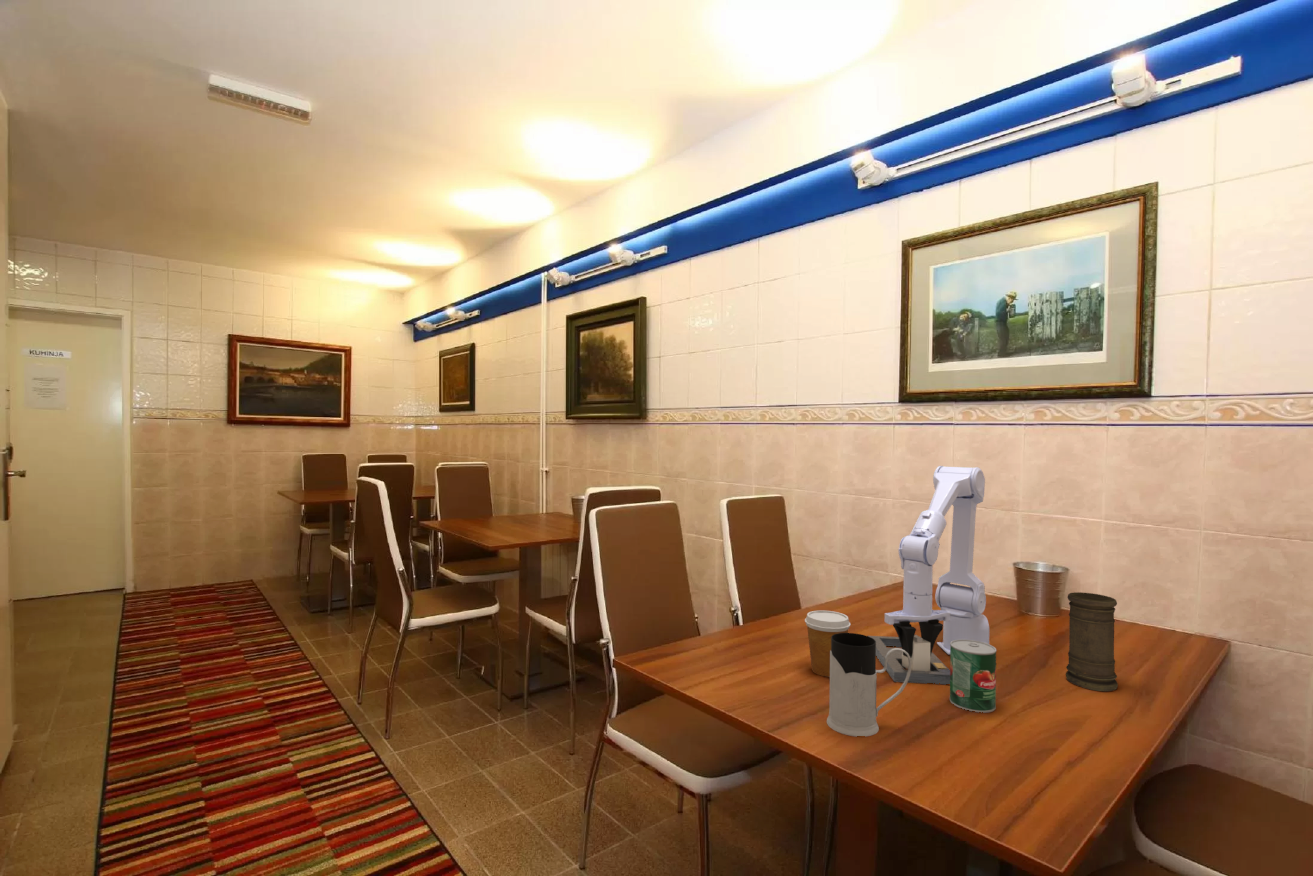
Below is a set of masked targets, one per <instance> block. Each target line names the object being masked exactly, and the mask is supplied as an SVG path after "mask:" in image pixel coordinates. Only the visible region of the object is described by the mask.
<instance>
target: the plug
mask: <svg viewBox="0 0 1313 876" xmlns="http://www.w3.org/2000/svg"><path fill="white" fill-rule="evenodd" d="M902 666H904V667H906V668H905V669H906V670H908V666H909V661H908V657H906V656H904V655H903V652H902ZM911 670H912V671H930V642H928V641H926V640H924V639H922V638H921V636H919V635H917V634H915V635H914V639H913V653H912V658H911Z"/></svg>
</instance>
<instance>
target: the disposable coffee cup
mask: <svg viewBox="0 0 1313 876" xmlns="http://www.w3.org/2000/svg"><path fill="white" fill-rule="evenodd" d="M804 622H805V625H806V627H807V636H808V637H807V638H808V645H809V655H810V664H811V672H813V673H814V674H815V675H818V676H820V677H821V676H822V677H828V678H830V651H831V637H832V635H834V634H838V633H849V629H850V626H851V622H850V619H849V616H848V615H846V614H844V613H841V612H839V611H833V610H832V611H831V610H813V611H809V612H807V613H806V618H804Z"/></svg>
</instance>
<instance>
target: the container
mask: <svg viewBox="0 0 1313 876" xmlns="http://www.w3.org/2000/svg"><path fill="white" fill-rule="evenodd" d="M1067 599H1068V601H1069V602H1068V605H1069V613H1068V616H1069V621H1068V622H1069V626H1068V627H1069V628H1068V629H1069V638H1068V639H1069V643H1068V645H1069V646H1068V653H1067V655H1068V664H1067V665H1066V667H1065V668H1066V670H1067V671H1066V672H1065V677H1066V680H1067V681H1068V683H1069V682H1070V684H1071V683H1072V684H1073V685H1074V686H1077V687H1080V688H1083V689H1087V690H1091V691H1097V692H1113V691H1115V690H1117V689H1118V686H1119V684H1118V681H1117V678H1118V676H1117V674H1116V672H1115V664H1116V660H1115V622H1116V620H1115V611H1116V608H1115V607H1116V606H1117V605H1118V602H1117V599H1115V598H1114V597H1112V596H1108V595H1103V594H1099V593H1092V592H1081V591H1080V592H1079V591H1077V592H1075V591H1073V592H1070V593H1068V595H1067Z"/></svg>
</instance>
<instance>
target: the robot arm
mask: <svg viewBox="0 0 1313 876" xmlns="http://www.w3.org/2000/svg"><path fill="white" fill-rule="evenodd" d="M932 481H933V487H934V493H933V494H932V495H933V496H932V497H931V501H930V504H929V506H928V508H927V510H923V511H921V512H920V513H919V516H918V518H917V520H916V521H915V523H914V526H913V528H912V530H911V531H910V533H909V534H908V535H905V536H903V537H902V538H901V540H900V542H899V546H898V549H897V550H898V556H899V559H900V567H901V569H902V570H903V584H902V585H903V587H902V588H903V590H902V591H903V595H902V597H903V598H902V599H903V600H902V603H903V604H902V606H903V607H902V610H896V611H892V612H885V613H884V623H885V624H888V625H890V626H891V625H892V626H893V628H894V629H895V630H894V631H895V632H896V634H897V637H899V640H900V643H901V646H902V647H901V648H902V649H903V650H905V651H906V652H907V653H908V654H909V656H910V658H912V653H913V639H914V635H916V631H917V628H916V627H914V626H912V624H911V623H918V624H919V629H920V630H919V631H920V637H921V638H922V639H924V640H926V641H928V642H930V656H931V653H933V649H934V646H935V643H936V644H937V646H939V648H940V649H942V650H943V651H944V652H945V653H946V654H947V655H949V656H950V648H951V645H950V643H951V642H952V641H954V640H974V641H979V642H984V643H987V644H990V625H989V620H988V618H987V616H986V615H984V612H985V609H986V605H987V596H986V593H985V587H986V586H985V583H984V582H983V581H982V580H981V579H980V578H979V577H978V576H977V575H975V573H973V569H974V568H973V565H974V564H973V563H974V551H975V550H974V548H975V532H976V531H975V530H976V515H977V506H978V504H981V503H983V502H984V497H985V486H986V485H985V484H986V477H985V475H984V472H983V470H982V469H981V468H980V467H978V466H975V467H965V466H944V465H938V466H937V467H936V469H935V470H934V472H933V478H932ZM951 507H953V510H952V511H953V513H952V527H951V529H952V530H951V541H950V542H951V543H950V556H949V557H950V558H949V561H950V562H949V571H947V572H946V573H943V574H942V575H940V577H939V578H938V580H937V582H938V583H937V587H936V589H935V596H934V598H935V603H936V604H937V606H938V607H939V608H940V609H933V574H934V573H933V572H934V571H933V565H934V564H935V563H936V562H937V560H938V555H939V549H940V542H939V541H940V539H941V537H942V535H943V533H944V530H945V529H946V526H947V520H946V518H945V517H946V514H947V513H948V511H949V510H950V509H951ZM942 621H943V623H940V622H942ZM941 632H942V633H943V634H942V638H943V639H942V642H941V641H939V642H938V641H937V642H936V640H937V638H938V636H939V635H940V634H941ZM903 655H904V656H906V657H907V655H906V654H905V653H904V652H903Z"/></svg>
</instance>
